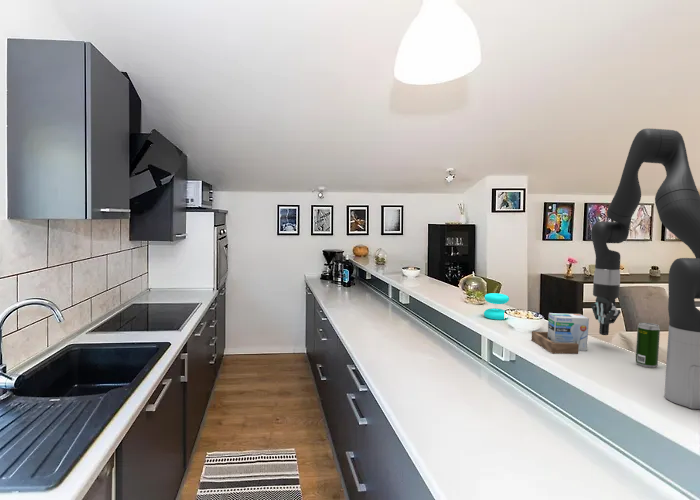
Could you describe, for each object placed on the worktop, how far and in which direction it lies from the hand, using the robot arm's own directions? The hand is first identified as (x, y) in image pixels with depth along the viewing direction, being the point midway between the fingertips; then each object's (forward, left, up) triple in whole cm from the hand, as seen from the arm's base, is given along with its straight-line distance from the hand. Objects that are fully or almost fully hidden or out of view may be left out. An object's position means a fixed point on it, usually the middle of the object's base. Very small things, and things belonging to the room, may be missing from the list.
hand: (603, 334), depth 146 cm
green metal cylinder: (-18, -2, -5) cm, 19 cm away
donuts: (+43, +21, -5) cm, 48 cm away
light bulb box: (-1, +12, -5) cm, 13 cm away
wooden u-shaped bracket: (0, +16, -4) cm, 17 cm away
